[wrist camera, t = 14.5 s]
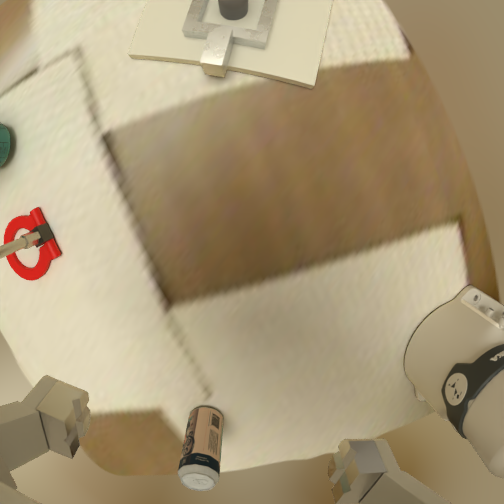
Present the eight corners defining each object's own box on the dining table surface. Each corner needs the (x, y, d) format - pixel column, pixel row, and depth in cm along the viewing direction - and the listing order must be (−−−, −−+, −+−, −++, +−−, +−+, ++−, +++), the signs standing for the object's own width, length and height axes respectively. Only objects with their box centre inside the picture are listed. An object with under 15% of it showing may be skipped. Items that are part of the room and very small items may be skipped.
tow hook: (26, 286, 36) (67, 259, 35) (-34, 326, 24) (0, 299, 23) (0, 233, 34) (38, 199, 33) (-66, 259, 22) (-36, 219, 21)
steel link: (255, 83, 29) (257, 72, 25) (175, 70, 29) (166, 58, 25) (281, -11, 26) (284, -29, 22) (206, -22, 26) (202, -41, 22)
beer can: (187, 404, 40) (173, 469, 29) (222, 404, 40) (216, 471, 29) (192, 427, 41) (181, 491, 30) (225, 428, 41) (220, 493, 30)
